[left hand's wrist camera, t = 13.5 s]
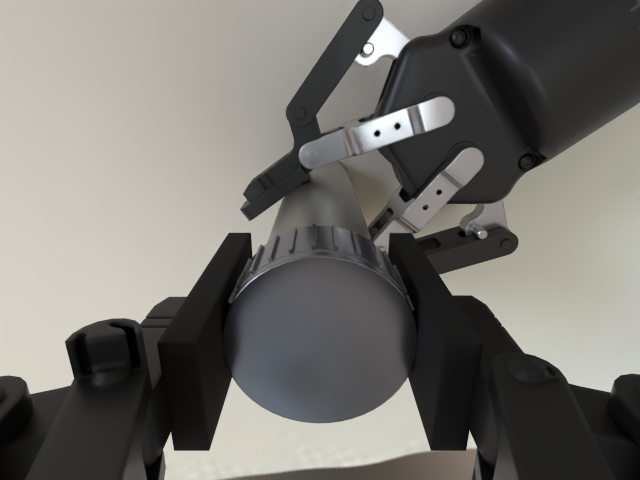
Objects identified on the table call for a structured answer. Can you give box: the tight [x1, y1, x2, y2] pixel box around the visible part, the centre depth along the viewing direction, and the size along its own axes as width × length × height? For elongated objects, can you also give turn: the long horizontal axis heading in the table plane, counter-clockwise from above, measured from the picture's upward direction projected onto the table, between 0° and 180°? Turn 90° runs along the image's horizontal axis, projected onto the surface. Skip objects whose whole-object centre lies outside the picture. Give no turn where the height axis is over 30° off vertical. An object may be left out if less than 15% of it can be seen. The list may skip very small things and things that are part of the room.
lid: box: [222, 224, 418, 423], centre depth 11 cm, size 5×5×2 cm
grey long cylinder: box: [268, 161, 371, 242], centre depth 19 cm, size 4×4×17 cm
